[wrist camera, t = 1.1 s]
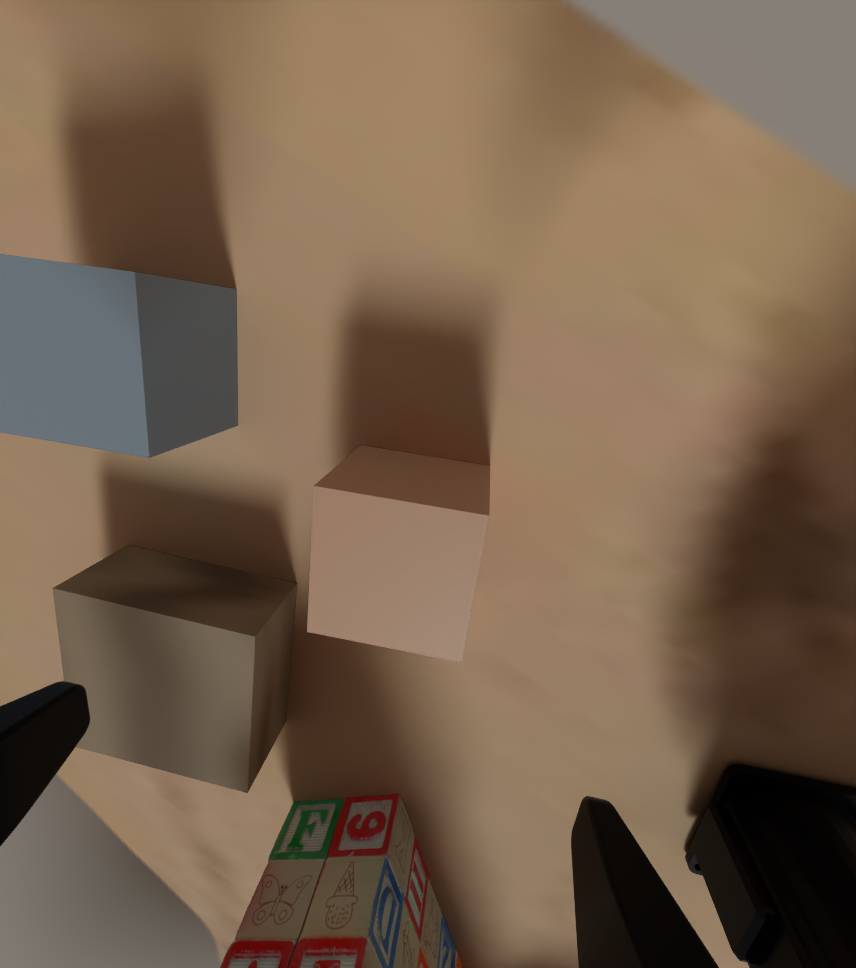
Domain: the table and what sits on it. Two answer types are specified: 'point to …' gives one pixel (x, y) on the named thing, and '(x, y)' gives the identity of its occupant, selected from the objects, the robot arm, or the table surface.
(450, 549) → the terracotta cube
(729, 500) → the table surface
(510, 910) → the table surface
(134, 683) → the taupe faceted block
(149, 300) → the slate cube
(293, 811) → the stack of blocks
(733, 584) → the table surface
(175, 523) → the table surface
